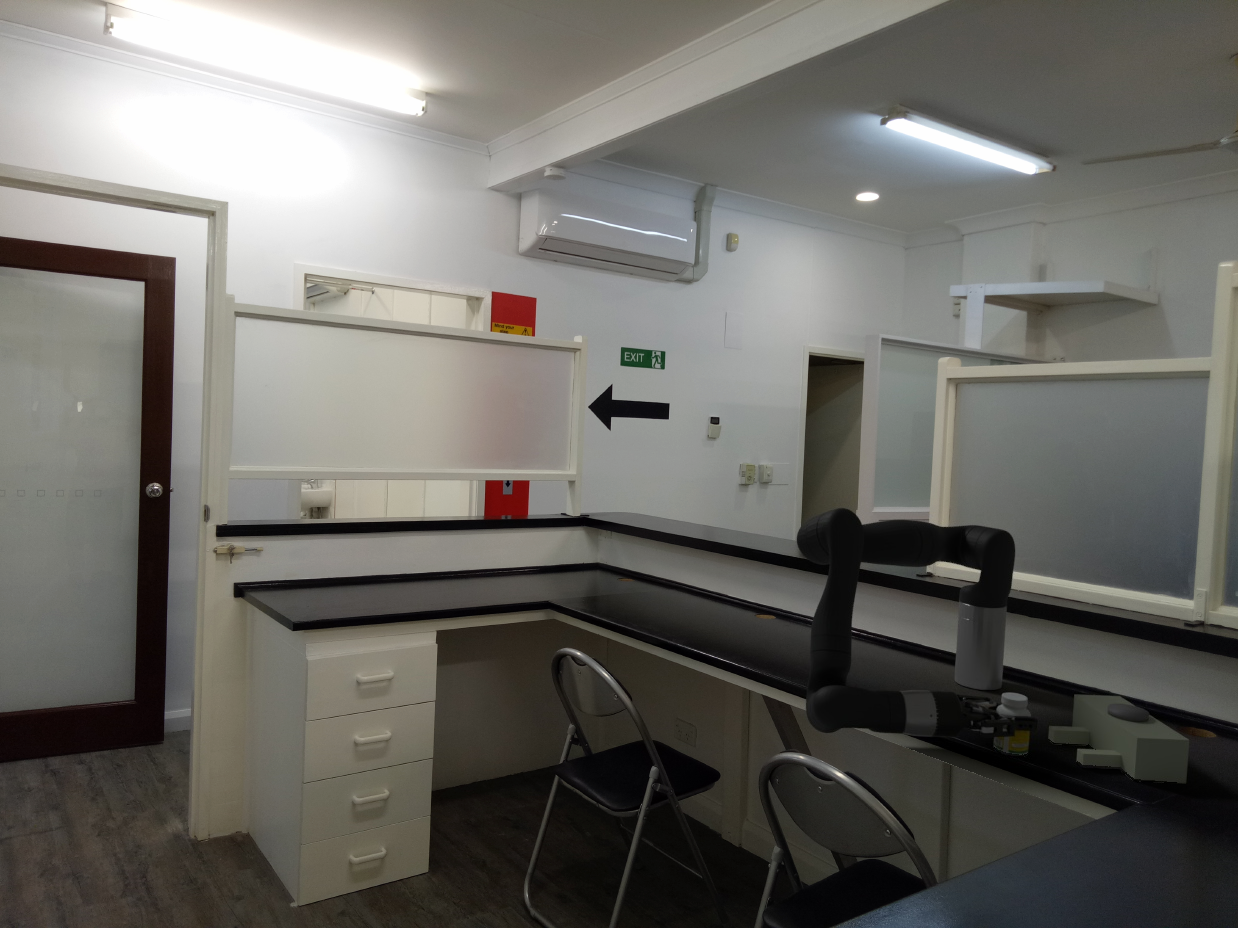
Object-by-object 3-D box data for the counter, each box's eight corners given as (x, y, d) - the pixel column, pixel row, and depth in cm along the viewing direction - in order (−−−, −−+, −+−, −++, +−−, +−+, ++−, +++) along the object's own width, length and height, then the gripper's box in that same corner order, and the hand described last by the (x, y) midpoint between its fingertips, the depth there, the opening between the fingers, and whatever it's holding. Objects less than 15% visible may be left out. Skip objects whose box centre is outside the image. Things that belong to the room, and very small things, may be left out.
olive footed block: (1038, 730, 155) (1040, 687, 155) (1116, 733, 155) (1120, 690, 154) (1095, 779, 135) (1098, 729, 135) (1185, 783, 135) (1189, 733, 134)
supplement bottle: (988, 750, 145) (992, 695, 145) (1000, 742, 149) (1003, 688, 149) (1022, 760, 142) (1025, 704, 141) (1032, 751, 146) (1036, 696, 145)
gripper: (942, 706, 138) (1049, 710, 138) (915, 677, 153) (1012, 681, 152) (940, 751, 139) (1046, 756, 138) (913, 719, 153) (1009, 722, 152)
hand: (1028, 717), depth 145 cm, fingers closed on supplement bottle, 5 cm apart
